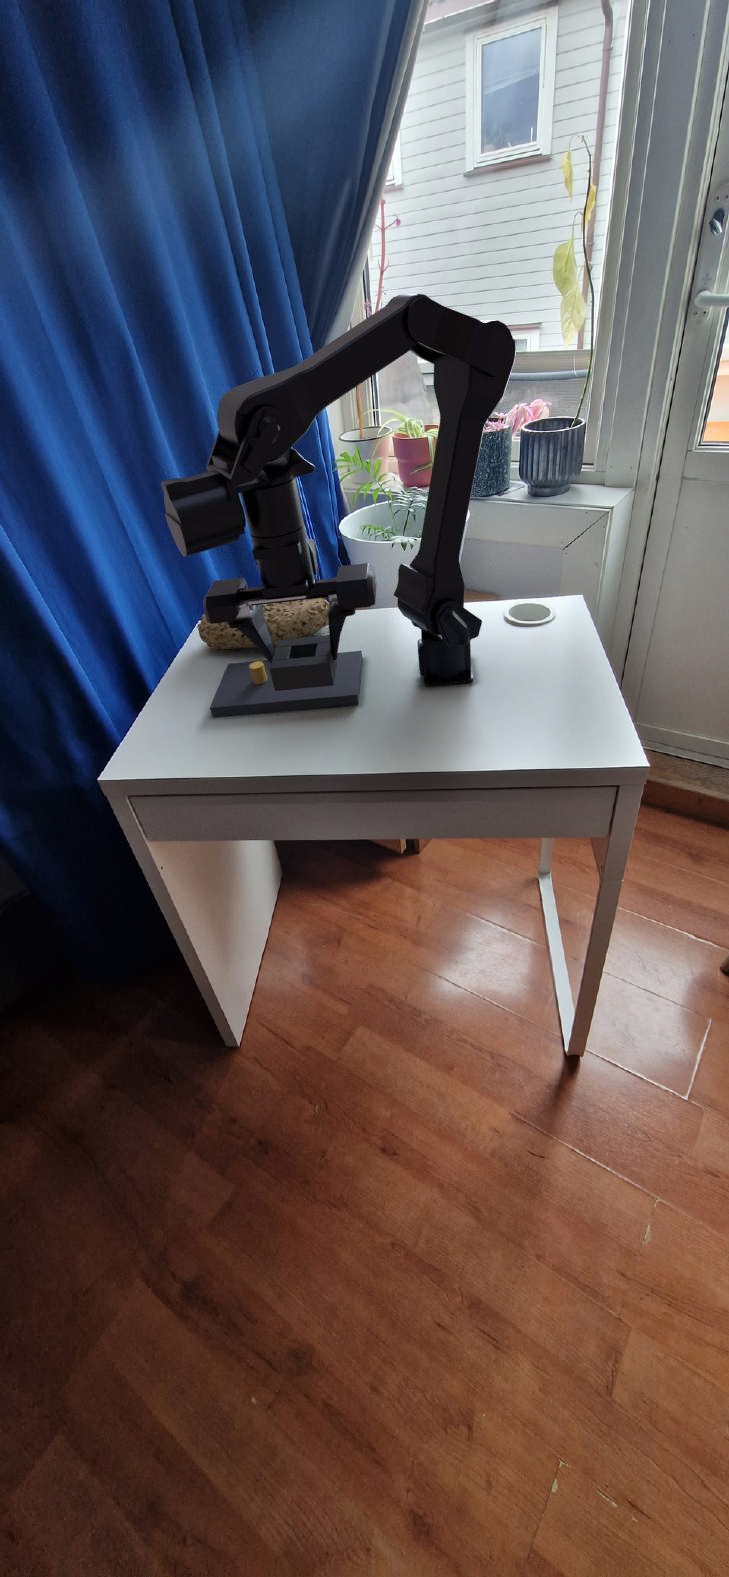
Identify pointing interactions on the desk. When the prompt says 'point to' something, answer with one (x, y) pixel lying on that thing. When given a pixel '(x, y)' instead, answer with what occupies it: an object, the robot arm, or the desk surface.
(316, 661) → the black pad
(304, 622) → the sponge
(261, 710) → the base pad
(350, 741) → the desk surface
